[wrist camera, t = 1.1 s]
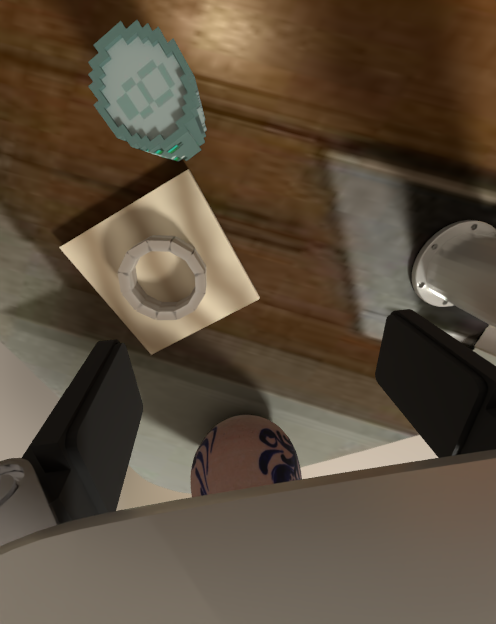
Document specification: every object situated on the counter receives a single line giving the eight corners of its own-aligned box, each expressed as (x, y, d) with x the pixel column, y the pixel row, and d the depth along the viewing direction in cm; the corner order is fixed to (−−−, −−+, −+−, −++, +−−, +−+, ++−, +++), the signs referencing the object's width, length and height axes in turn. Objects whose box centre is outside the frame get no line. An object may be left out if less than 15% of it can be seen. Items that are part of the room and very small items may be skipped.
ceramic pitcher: (306, 432, 54) (368, 616, 31) (223, 483, 58) (226, 676, 36) (249, 381, 47) (276, 569, 24) (160, 443, 51) (115, 650, 29)
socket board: (189, 169, 32) (185, 168, 28) (258, 294, 40) (263, 307, 36) (65, 244, 34) (45, 253, 30) (153, 348, 42) (146, 367, 38)
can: (136, 116, 30) (67, 68, 16) (182, 79, 29) (149, -5, 15) (172, 171, 32) (139, 168, 19) (216, 139, 31) (213, 111, 18)
